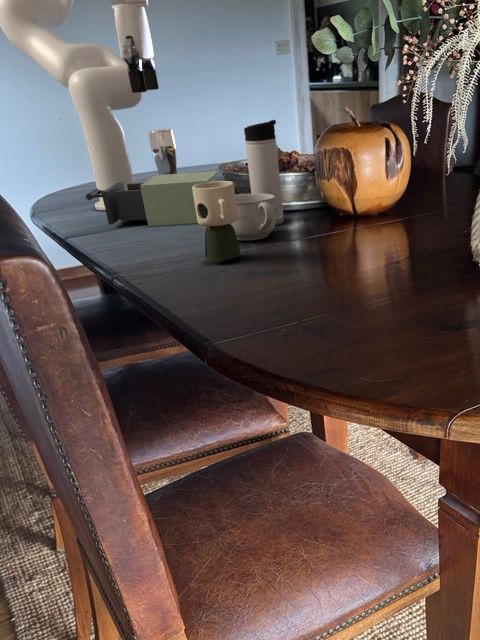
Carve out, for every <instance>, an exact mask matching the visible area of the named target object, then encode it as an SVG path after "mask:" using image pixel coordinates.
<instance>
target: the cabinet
mask: <svg viewBox="0 0 480 640" xmlns="http://www.w3.org/2000/svg"><path fill="white" fill-rule="evenodd" d="M212 181H220V180H219V173H218V170H212V171H210V170H209V171H198V172H183V173H177V174H168V175H159V174H157V175H156V174H155V175H154V176H152V177H151V178H150V179H147V180H146V181H145V182H142V183H143V184H142V185H140V188H141V192H142V197H143V202H144V207H145V212H146V217H147V219H146V222H147V226H148V227H163V226H176V225H190V224H199V223H198V221H197V215H196V208H195V202H194V197H193V190H192V186H194V185H197V184H200V183H206V182H212Z"/></svg>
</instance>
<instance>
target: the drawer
mask: <svg viewBox="0 0 480 640" xmlns="http://www.w3.org/2000/svg"><path fill="white" fill-rule="evenodd" d="M143 183H144V182H134V183H132V184H127V187H128V191H124V186H123V182H122V183H117V184H115V185H113V186H112V187H110V188H108V189H106V190H99V189H97V188H95V189H93V190H91V191H90V192H88V193H86V194H85V198H86V200H88V201H91V200H93V199H96V198H99V197H103V201H104V206H105V210H104V211H105V214H106V218H107V223H108V225H114V224H116V223H117V222H119V221H120V222H127V221H140V220H147V217H146V212H145V207H144V202H143V197H142V192H141V188H140V185H142V184H143ZM101 193H102V194H101Z"/></svg>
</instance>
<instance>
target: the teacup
mask: <svg viewBox="0 0 480 640" xmlns="http://www.w3.org/2000/svg"><path fill="white" fill-rule="evenodd" d="M235 197H236V205H237V213H238V220H237V221H235V222H233V223H231V225H232V226H233V228H234V229H235V233H236V236H237V240H238V241H259V240H263V239H266V238H267V237H268V236H269V235H270V234H271V233H272V232H273V231H274V229H275V226H276V225H275V196H274V195H272V194H258V193H252V194H251V193H239V194H235Z"/></svg>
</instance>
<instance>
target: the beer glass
mask: <svg viewBox="0 0 480 640" xmlns="http://www.w3.org/2000/svg"><path fill="white" fill-rule="evenodd" d="M148 138H149V145H150V151H151V155H152V158H153V161H154V163H155V166H156V169H157V172H158V175H168V174H178V170H177V168H178V167H177V147H176V142H175V137H174V133H173V129H172V128H161V129H160V128H159V129H153V130H149V131H148Z"/></svg>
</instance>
